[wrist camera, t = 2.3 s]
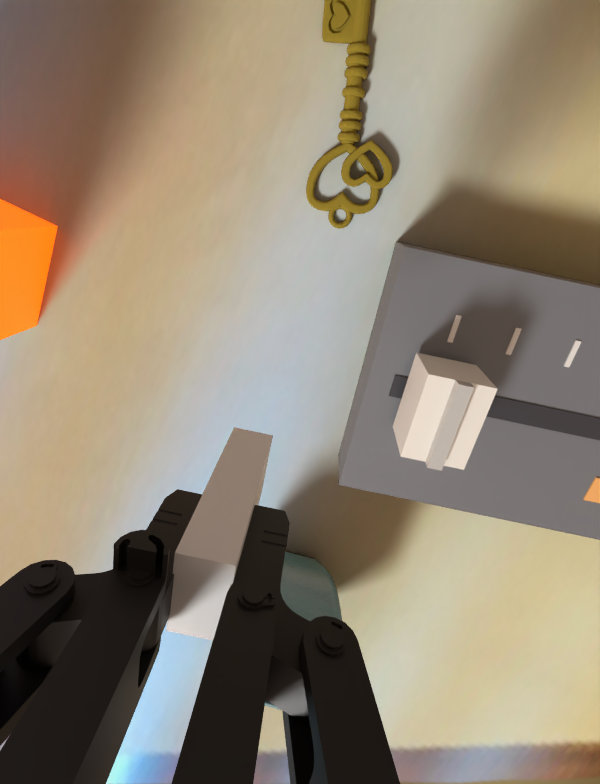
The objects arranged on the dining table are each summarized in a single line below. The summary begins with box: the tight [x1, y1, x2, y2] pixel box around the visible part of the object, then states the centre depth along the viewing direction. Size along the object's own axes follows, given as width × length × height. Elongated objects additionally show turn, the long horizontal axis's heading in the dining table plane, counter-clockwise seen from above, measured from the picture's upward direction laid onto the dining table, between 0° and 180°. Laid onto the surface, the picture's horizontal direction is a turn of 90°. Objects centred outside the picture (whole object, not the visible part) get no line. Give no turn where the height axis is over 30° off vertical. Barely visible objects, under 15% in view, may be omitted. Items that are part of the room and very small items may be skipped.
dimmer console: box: [339, 242, 600, 540], centre depth 28 cm, size 16×22×4 cm
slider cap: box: [393, 352, 498, 471], centre depth 24 cm, size 5×4×4 cm
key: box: [306, 0, 393, 228], centre depth 24 cm, size 12×1×5 cm
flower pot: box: [265, 551, 342, 710], centre depth 34 cm, size 9×9×9 cm
